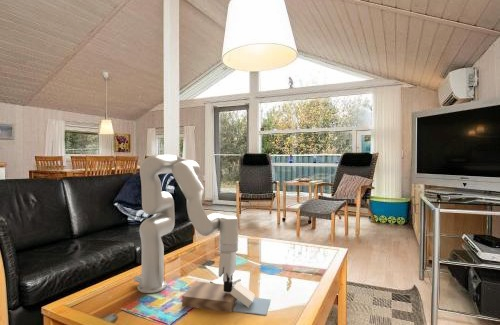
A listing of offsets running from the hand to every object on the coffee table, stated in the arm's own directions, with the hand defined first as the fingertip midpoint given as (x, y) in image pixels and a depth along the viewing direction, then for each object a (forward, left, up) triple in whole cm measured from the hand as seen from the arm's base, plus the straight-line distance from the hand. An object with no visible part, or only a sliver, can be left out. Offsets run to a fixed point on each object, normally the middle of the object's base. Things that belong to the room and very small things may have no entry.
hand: (227, 290), depth 121 cm
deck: (-7, 0, -5) cm, 8 cm away
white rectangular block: (+6, 0, -1) cm, 6 cm away
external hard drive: (-6, +19, -6) cm, 20 cm away
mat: (+10, 0, -5) cm, 11 cm away
